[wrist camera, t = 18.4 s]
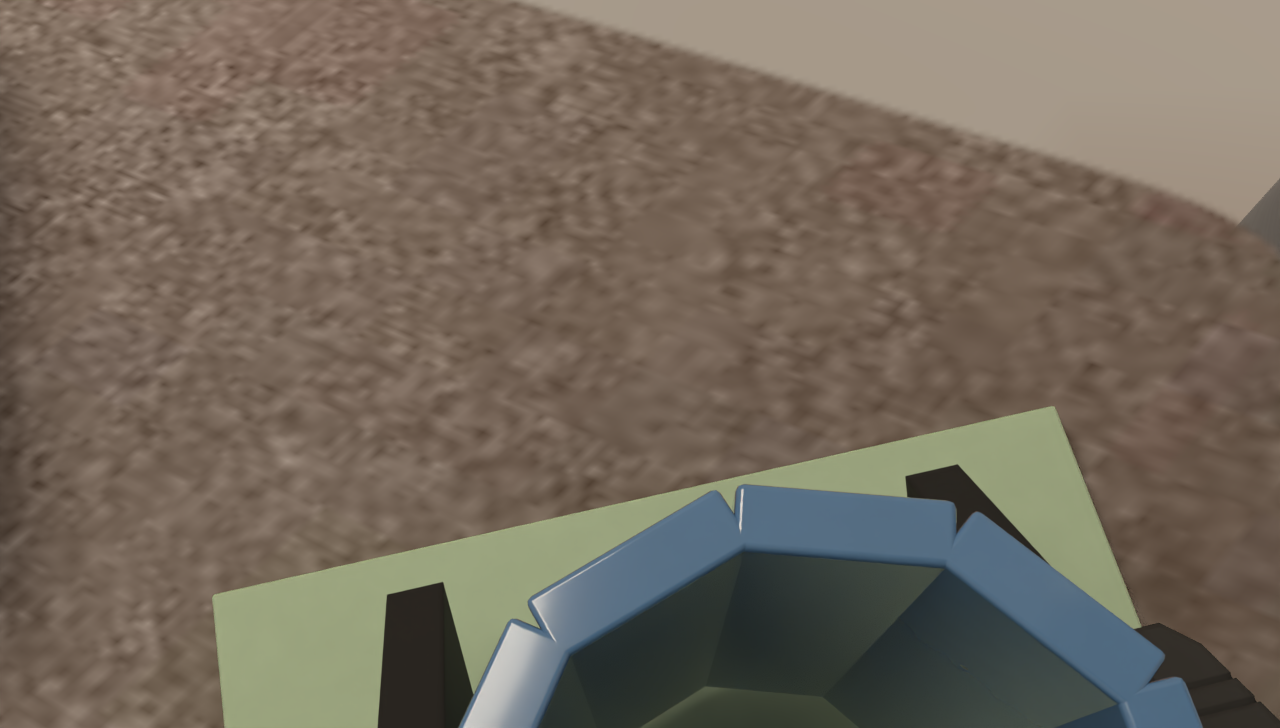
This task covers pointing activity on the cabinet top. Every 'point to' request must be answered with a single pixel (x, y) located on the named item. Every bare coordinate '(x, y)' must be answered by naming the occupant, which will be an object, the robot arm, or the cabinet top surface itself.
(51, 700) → the cabinet top surface
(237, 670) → the mat
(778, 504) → the blue planter
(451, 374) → the cabinet top surface
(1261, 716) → the robot arm
